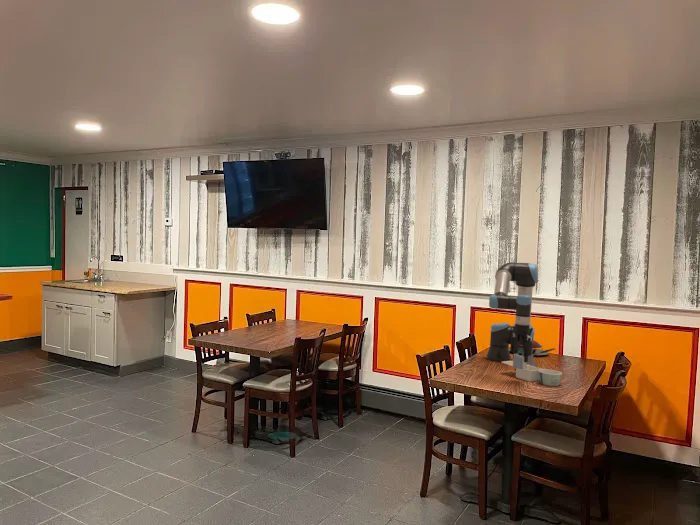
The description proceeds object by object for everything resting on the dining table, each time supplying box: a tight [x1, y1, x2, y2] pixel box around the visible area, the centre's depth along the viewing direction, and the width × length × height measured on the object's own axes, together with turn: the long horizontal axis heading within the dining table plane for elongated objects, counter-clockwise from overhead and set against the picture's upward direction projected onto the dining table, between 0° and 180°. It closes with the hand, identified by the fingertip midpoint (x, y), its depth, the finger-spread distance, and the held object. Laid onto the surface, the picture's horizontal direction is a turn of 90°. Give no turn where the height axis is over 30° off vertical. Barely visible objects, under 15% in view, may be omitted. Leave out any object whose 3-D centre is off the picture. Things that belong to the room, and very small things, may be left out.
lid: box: [501, 360, 529, 367], centre depth 311 cm, size 11×11×1 cm
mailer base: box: [515, 365, 543, 383], centre depth 302 cm, size 10×11×6 cm
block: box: [512, 354, 527, 369], centre depth 295 cm, size 5×5×6 cm
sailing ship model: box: [509, 339, 549, 356], centre depth 380 cm, size 28×28×11 cm
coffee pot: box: [521, 347, 557, 367], centre depth 321 cm, size 21×12×15 cm, turn 72°
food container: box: [539, 368, 563, 387], centre depth 293 cm, size 12×12×6 cm
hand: (519, 366), depth 295 cm, fingers closed on block, 5 cm apart
